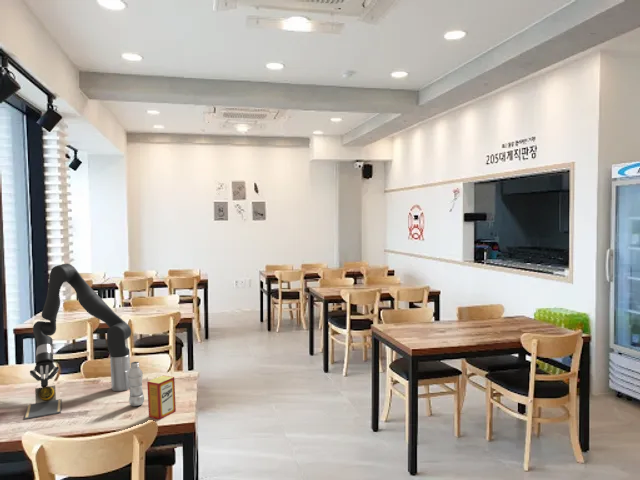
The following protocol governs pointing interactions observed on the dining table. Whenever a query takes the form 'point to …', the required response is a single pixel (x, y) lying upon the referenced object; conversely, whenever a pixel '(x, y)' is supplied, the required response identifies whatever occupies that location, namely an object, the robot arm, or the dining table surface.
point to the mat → (43, 409)
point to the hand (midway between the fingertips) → (44, 386)
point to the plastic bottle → (135, 385)
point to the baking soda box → (161, 397)
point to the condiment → (45, 394)
